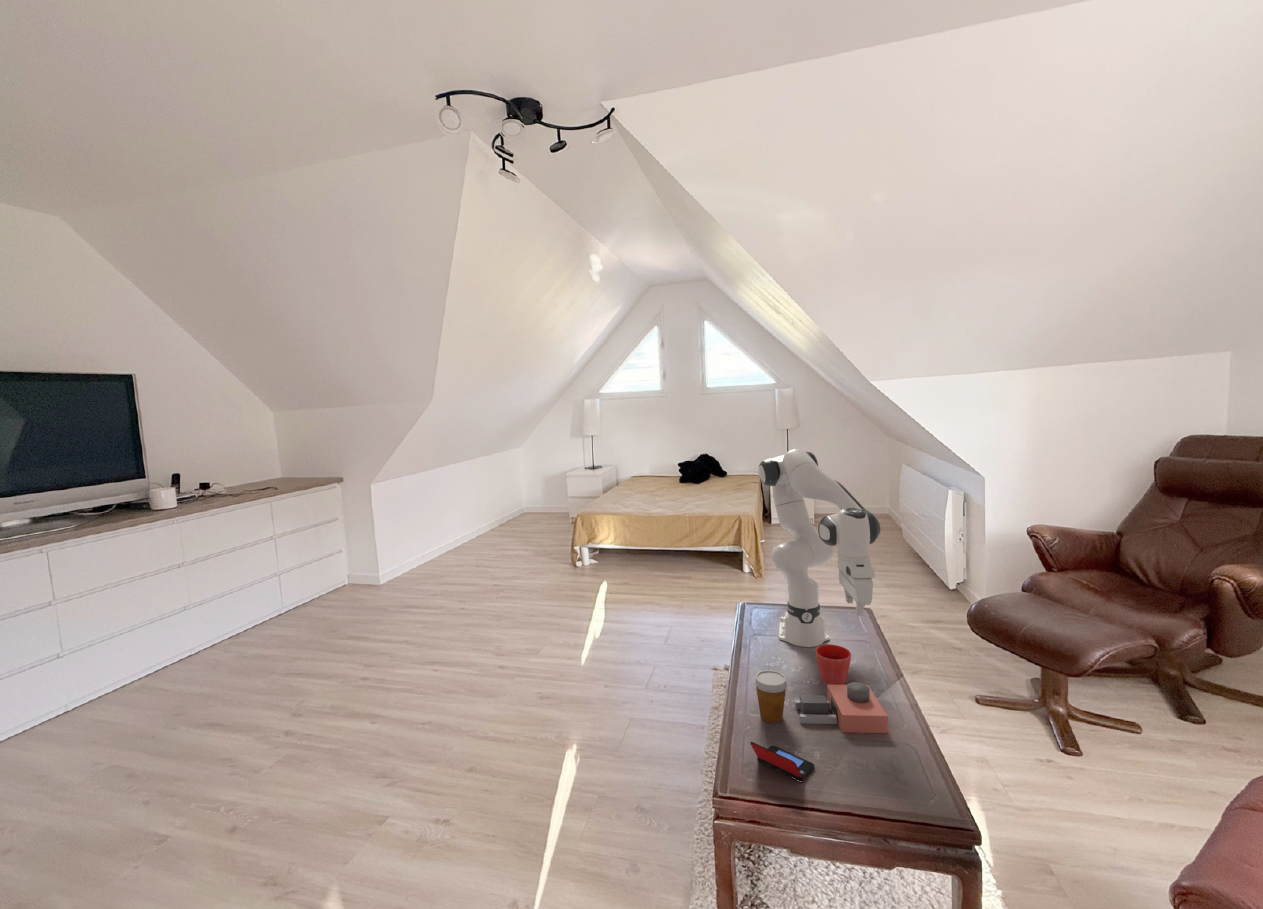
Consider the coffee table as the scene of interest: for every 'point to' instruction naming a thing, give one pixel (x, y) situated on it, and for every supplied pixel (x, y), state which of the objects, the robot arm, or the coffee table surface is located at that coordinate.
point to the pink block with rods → (851, 710)
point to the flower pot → (833, 663)
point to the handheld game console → (783, 761)
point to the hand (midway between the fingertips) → (854, 608)
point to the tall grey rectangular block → (813, 704)
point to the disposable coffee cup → (771, 694)
